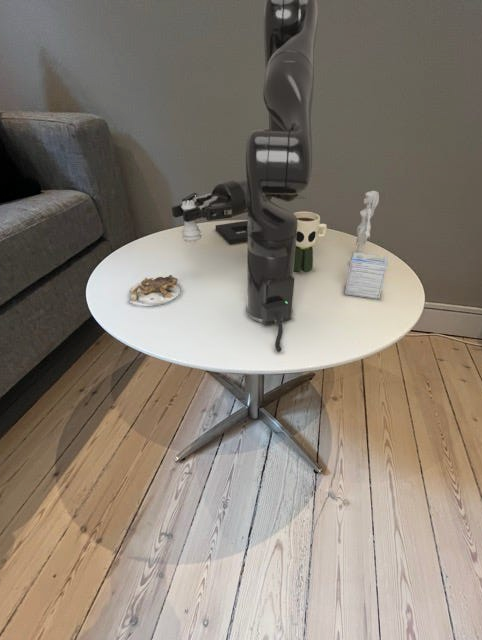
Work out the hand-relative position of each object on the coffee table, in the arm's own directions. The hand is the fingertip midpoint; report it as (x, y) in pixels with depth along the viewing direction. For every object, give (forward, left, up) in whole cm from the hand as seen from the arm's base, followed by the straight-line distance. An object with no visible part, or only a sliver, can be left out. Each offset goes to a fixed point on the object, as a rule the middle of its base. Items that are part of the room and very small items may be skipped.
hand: (179, 214), depth 84 cm
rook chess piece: (+1, -3, -6) cm, 7 cm away
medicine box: (-23, -36, -15) cm, 45 cm away
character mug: (-6, -29, -15) cm, 33 cm away
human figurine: (-10, -44, -15) cm, 47 cm away
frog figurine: (-4, +9, -15) cm, 18 cm away
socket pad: (+21, -24, -15) cm, 35 cm away
